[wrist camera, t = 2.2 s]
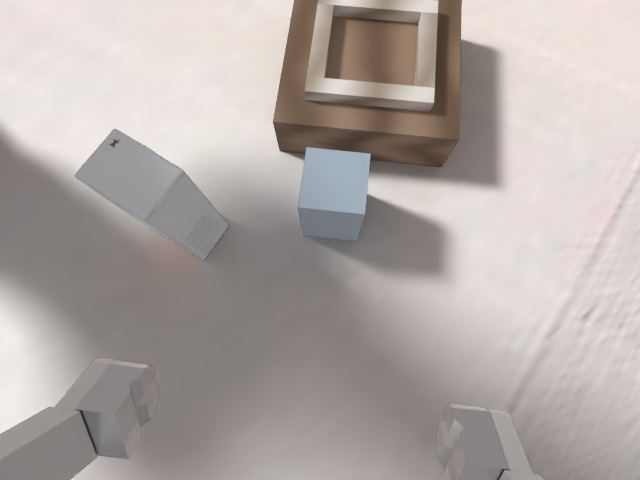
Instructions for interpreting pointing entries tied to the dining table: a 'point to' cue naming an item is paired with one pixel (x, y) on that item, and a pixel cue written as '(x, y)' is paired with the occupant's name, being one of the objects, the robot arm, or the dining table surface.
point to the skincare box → (153, 193)
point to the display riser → (372, 79)
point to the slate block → (333, 193)
